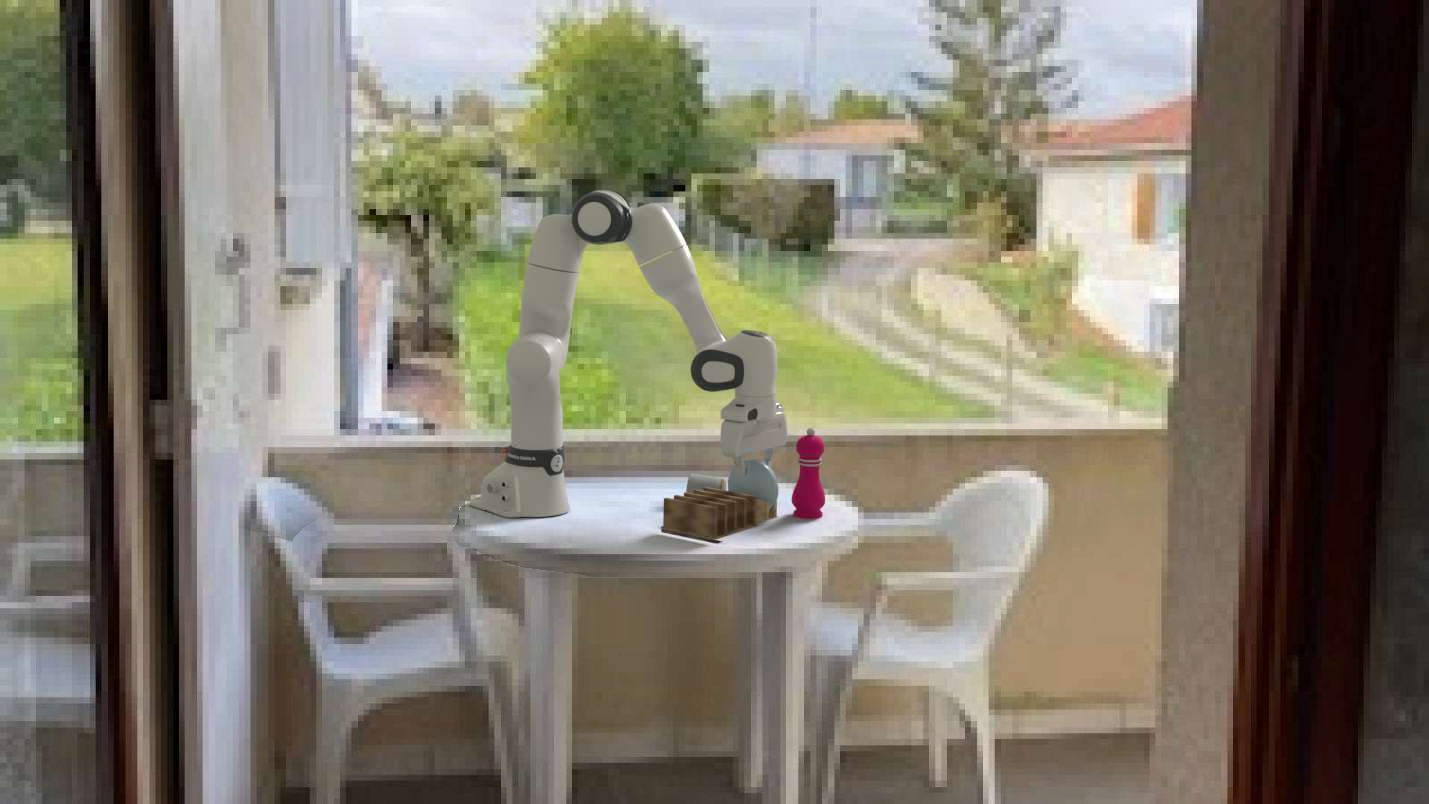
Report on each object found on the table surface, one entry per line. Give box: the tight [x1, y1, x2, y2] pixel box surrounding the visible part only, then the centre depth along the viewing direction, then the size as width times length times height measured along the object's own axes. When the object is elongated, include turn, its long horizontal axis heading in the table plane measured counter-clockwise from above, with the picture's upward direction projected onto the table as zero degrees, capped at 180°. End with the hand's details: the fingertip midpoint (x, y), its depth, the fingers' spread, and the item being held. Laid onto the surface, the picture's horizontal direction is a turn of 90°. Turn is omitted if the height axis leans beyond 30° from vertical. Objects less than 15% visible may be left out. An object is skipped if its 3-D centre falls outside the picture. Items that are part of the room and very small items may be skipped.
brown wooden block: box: [756, 499, 780, 522], centre depth 312 cm, size 10×6×5 cm, turn 54°
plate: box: [727, 458, 779, 511], centre depth 311 cm, size 12×2×12 cm, turn 54°
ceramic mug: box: [685, 473, 727, 493], centre depth 323 cm, size 11×8×8 cm
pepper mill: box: [791, 427, 826, 520], centre depth 312 cm, size 7×7×20 cm
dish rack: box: [660, 487, 758, 545], centre depth 301 cm, size 14×14×7 cm
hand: (754, 471), depth 311 cm, fingers open, 8 cm apart
